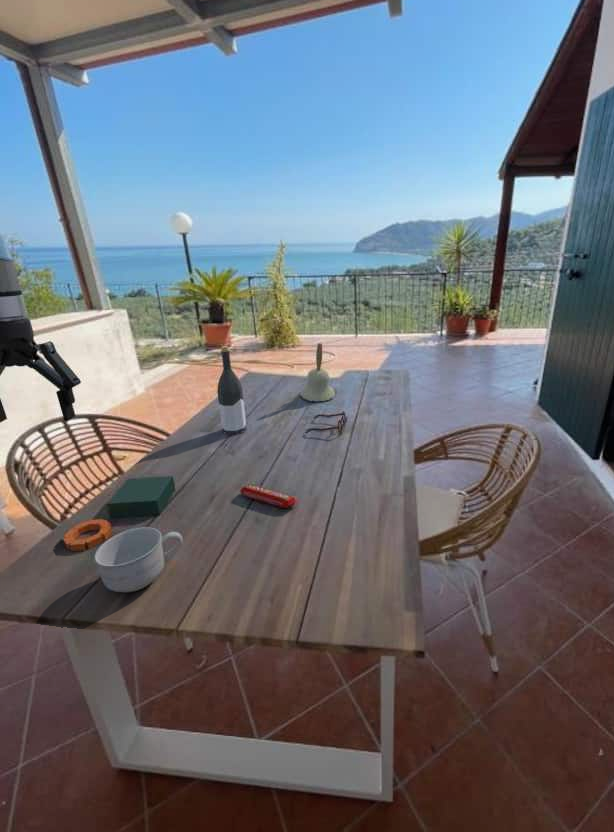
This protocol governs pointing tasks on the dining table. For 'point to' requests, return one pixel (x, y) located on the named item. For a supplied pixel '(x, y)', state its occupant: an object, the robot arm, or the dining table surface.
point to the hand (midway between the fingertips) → (35, 420)
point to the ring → (91, 541)
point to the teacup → (134, 558)
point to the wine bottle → (230, 398)
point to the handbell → (317, 382)
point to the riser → (141, 497)
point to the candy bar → (268, 496)
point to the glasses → (331, 427)
